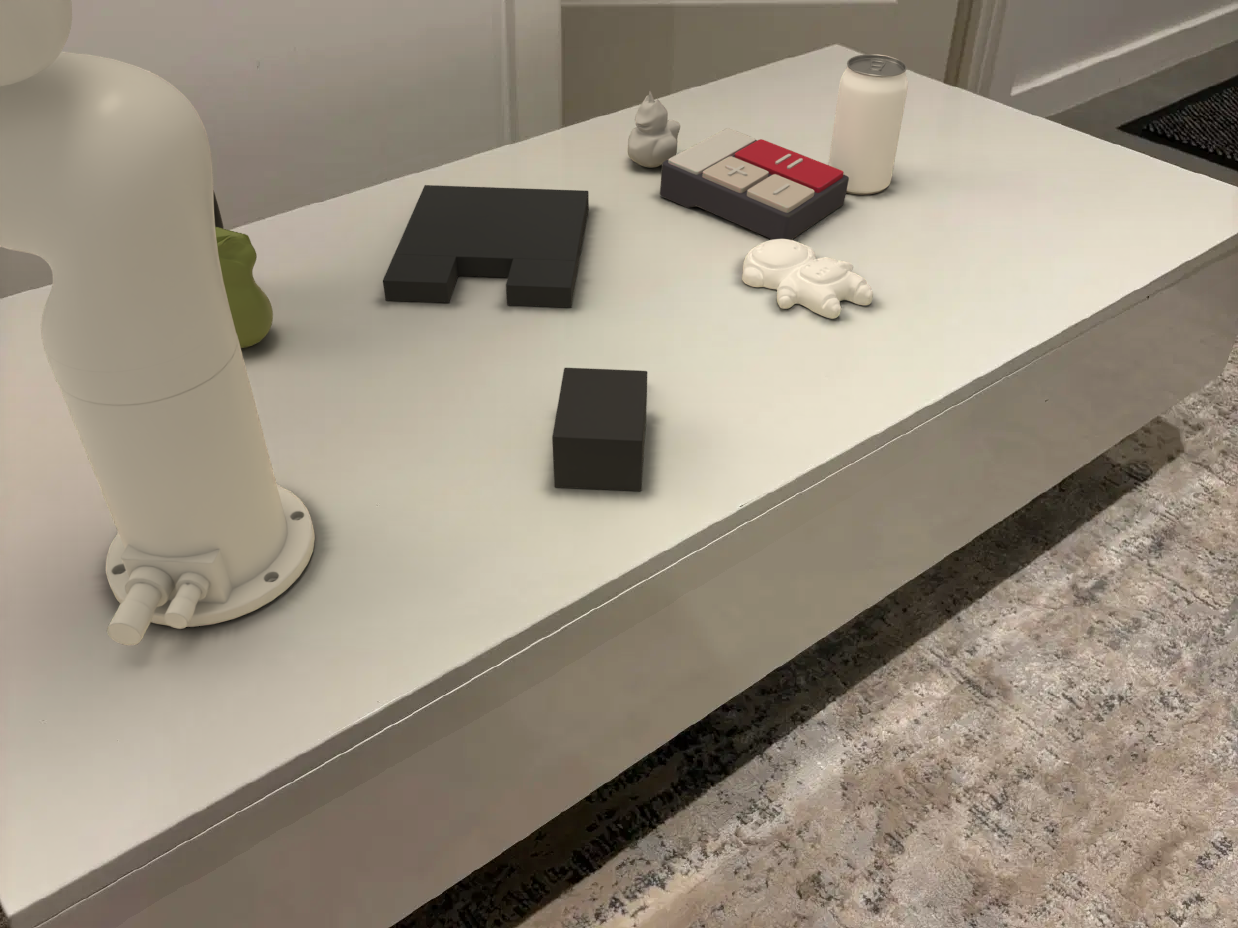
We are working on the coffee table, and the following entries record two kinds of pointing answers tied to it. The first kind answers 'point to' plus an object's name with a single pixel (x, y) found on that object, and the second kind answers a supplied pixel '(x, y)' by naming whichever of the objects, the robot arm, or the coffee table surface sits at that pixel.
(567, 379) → the black block
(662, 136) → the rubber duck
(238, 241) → the pear
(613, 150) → the coffee table surface
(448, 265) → the base pad
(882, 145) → the can
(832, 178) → the calculator
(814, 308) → the astronaut figurine
